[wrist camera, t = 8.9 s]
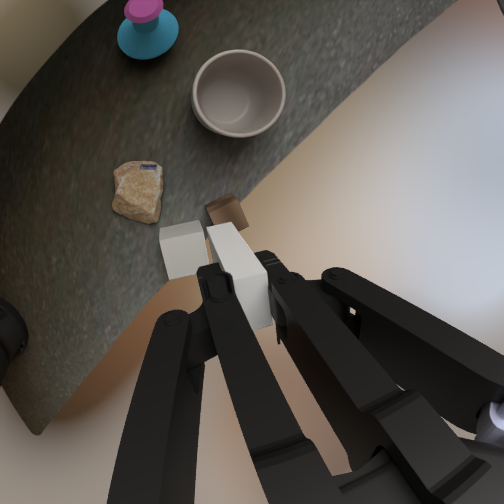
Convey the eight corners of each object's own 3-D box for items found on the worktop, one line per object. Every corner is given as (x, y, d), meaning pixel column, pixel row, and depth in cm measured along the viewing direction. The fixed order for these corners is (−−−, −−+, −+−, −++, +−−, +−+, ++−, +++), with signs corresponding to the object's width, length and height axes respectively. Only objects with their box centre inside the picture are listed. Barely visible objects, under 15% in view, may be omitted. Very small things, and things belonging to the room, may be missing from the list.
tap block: (168, 264, 51) (169, 279, 46) (159, 228, 48) (159, 240, 43) (205, 256, 53) (210, 270, 48) (199, 219, 50) (203, 231, 45)
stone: (166, 161, 44) (166, 164, 41) (159, 222, 48) (158, 231, 44) (117, 157, 42) (112, 160, 38) (112, 218, 45) (107, 227, 41)
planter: (189, 139, 44) (195, 141, 34) (185, 67, 39) (191, 50, 29) (262, 134, 47) (287, 136, 37) (260, 66, 42) (284, 51, 32)
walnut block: (216, 229, 51) (221, 239, 47) (204, 205, 49) (208, 213, 45) (241, 217, 52) (249, 226, 48) (230, 192, 50) (237, 199, 45)
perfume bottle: (162, 9, 33) (164, -33, 20) (186, 48, 37) (196, 15, 24) (113, 35, 33) (94, 1, 19) (136, 75, 37) (123, 51, 24)
